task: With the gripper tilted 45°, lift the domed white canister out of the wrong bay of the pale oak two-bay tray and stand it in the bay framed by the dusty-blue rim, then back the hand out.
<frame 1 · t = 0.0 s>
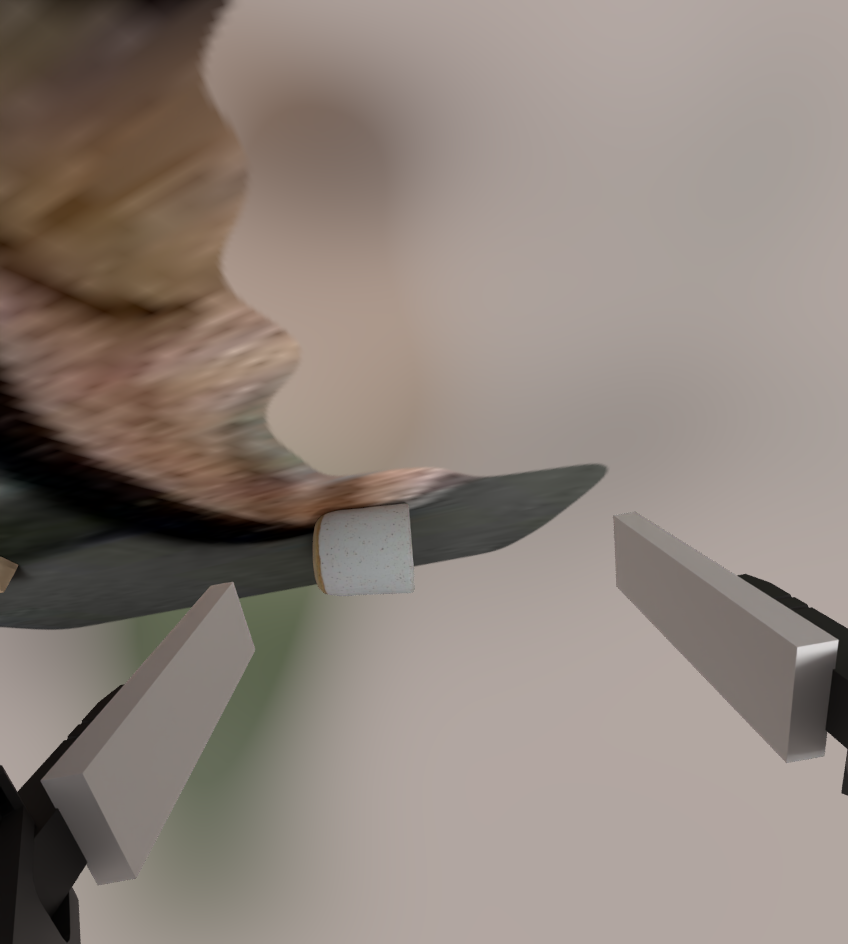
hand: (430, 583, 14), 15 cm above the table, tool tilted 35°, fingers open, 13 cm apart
ceramic mug: (369, 520, 39), on the table
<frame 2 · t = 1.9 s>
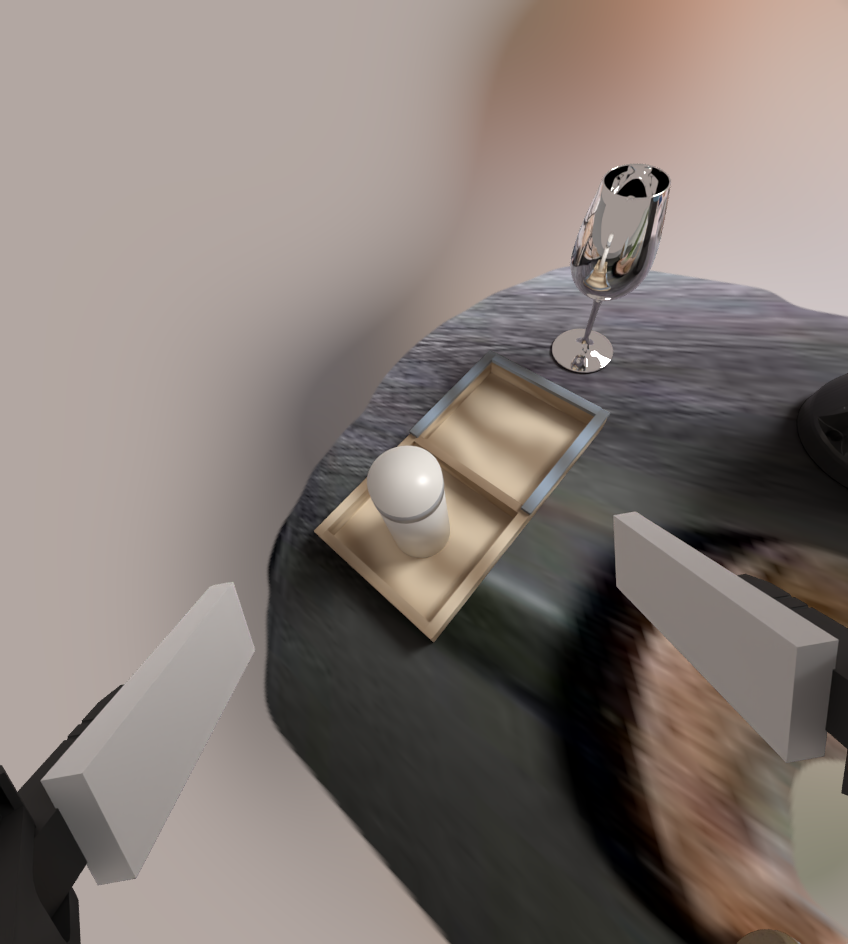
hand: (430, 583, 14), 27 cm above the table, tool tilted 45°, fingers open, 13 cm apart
bay tray: (466, 482, 45), on the table
wineglass: (581, 352, 52), on the table
domed white canister: (421, 530, 42), point 1 cm above the table, touching bay tray
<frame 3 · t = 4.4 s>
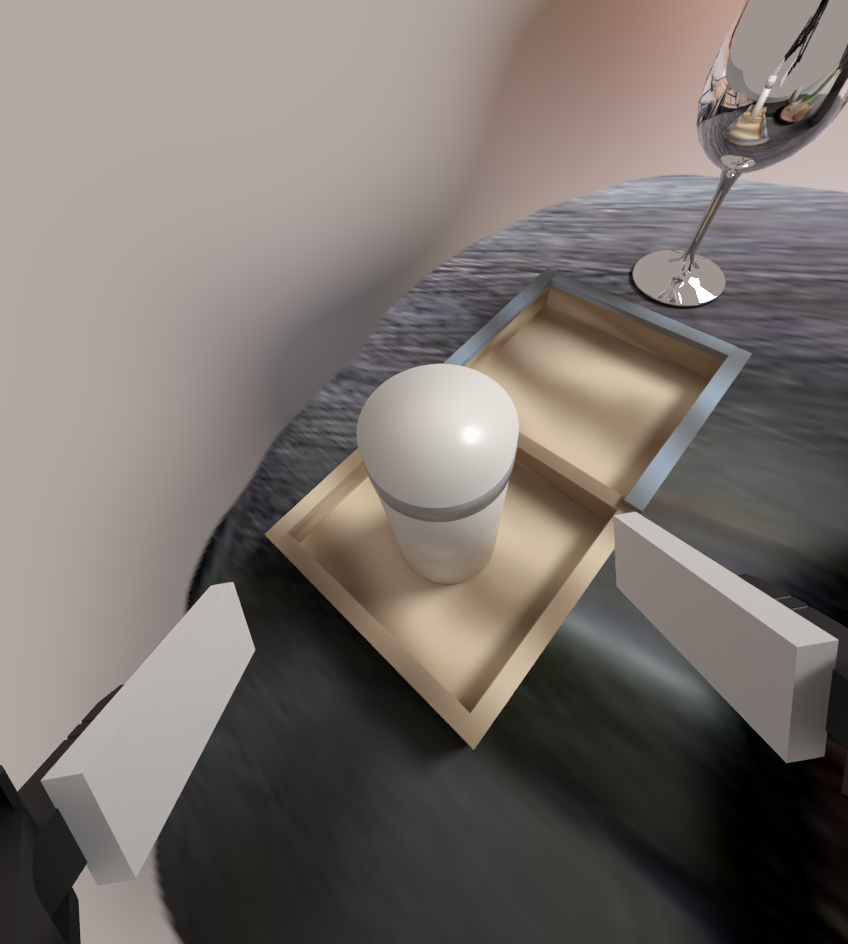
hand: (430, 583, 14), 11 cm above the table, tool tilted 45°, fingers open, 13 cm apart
bay tray: (516, 460, 28), on the table
wineglass: (675, 281, 36), on the table
domed white canister: (447, 536, 25), point 1 cm above the table, touching bay tray
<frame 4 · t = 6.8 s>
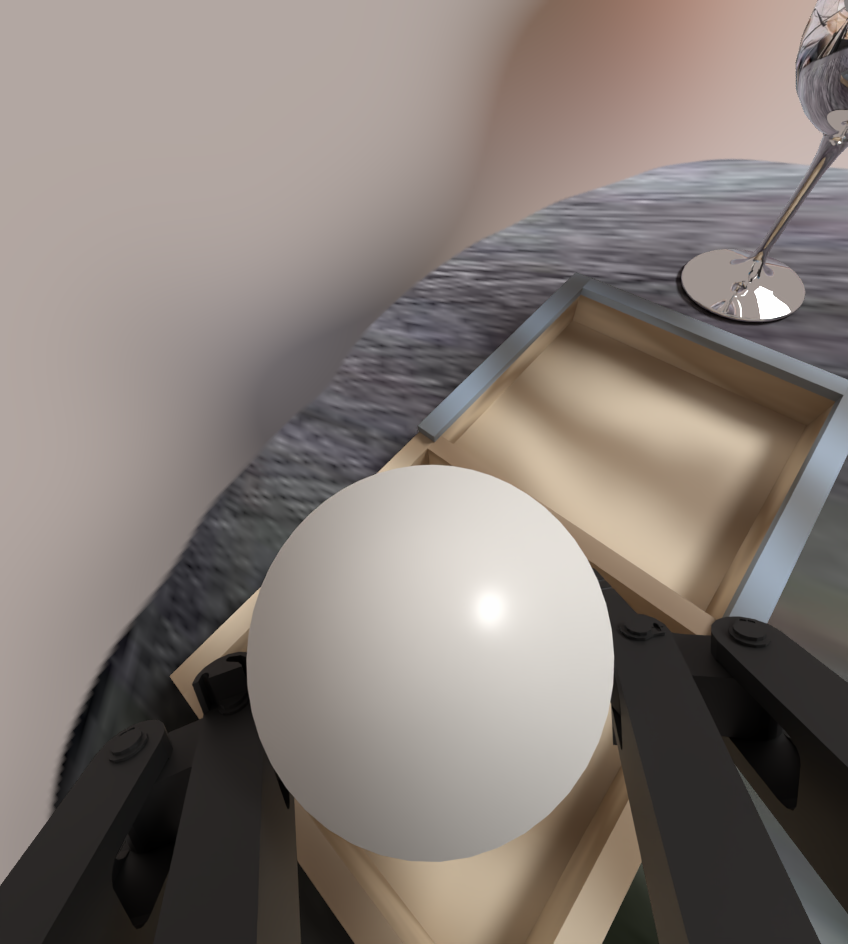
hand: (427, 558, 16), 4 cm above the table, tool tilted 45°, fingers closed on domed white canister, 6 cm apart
bay tray: (543, 542, 20), on the table
wineglass: (737, 288, 28), on the table
domed white canister: (447, 668, 17), point 1 cm above the table, touching bay tray, gripper
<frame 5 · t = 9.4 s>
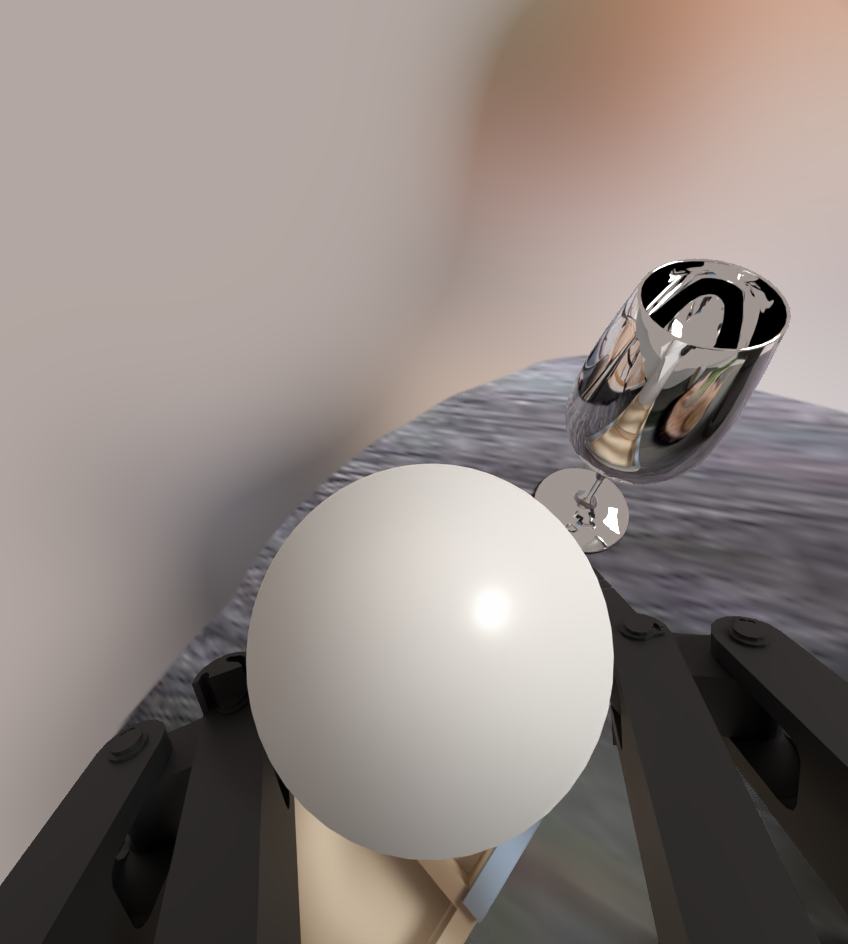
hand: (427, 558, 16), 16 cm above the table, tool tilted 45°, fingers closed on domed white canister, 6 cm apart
bay tray: (376, 777, 25), on the table
wineglass: (579, 510, 33), on the table
domed white canister: (447, 668, 17), point 12 cm above the table, touching gripper
when the fingers open (5 cm above the table, at t = 11.8 s): domed white canister stays where it is, resting on bay tray.
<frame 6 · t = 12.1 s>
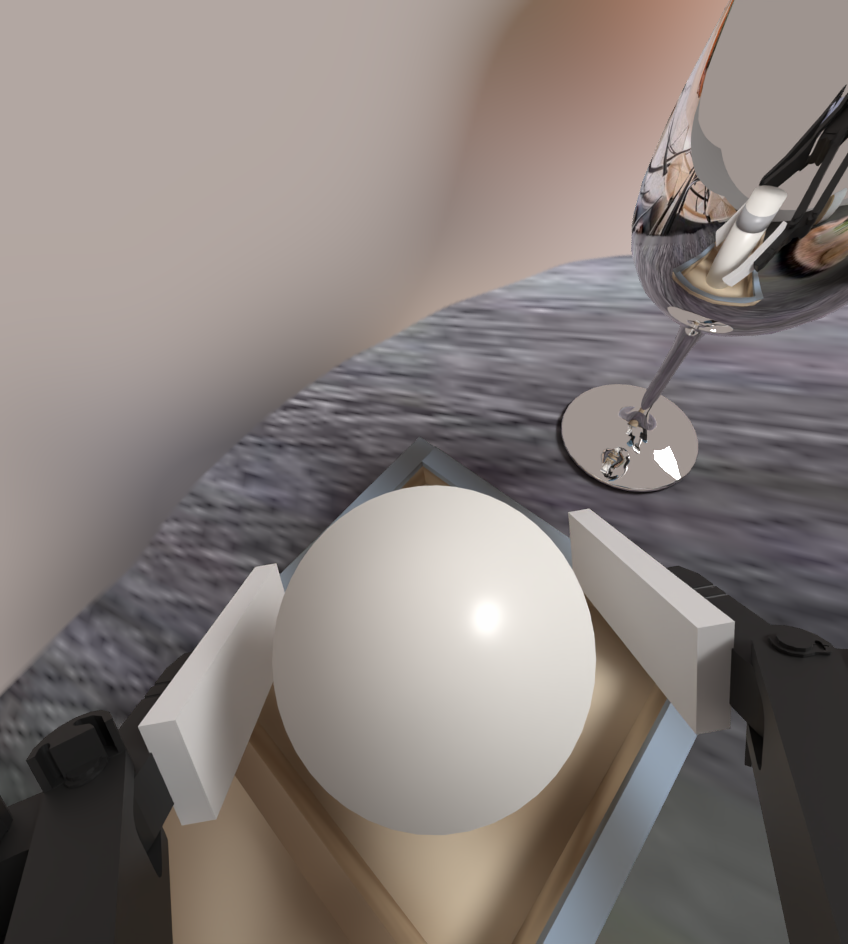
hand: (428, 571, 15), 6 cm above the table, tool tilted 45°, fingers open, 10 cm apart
bay tray: (327, 828, 16), on the table
wineglass: (625, 437, 24), on the table
domed white canister: (448, 670, 18), point 1 cm above the table, touching bay tray
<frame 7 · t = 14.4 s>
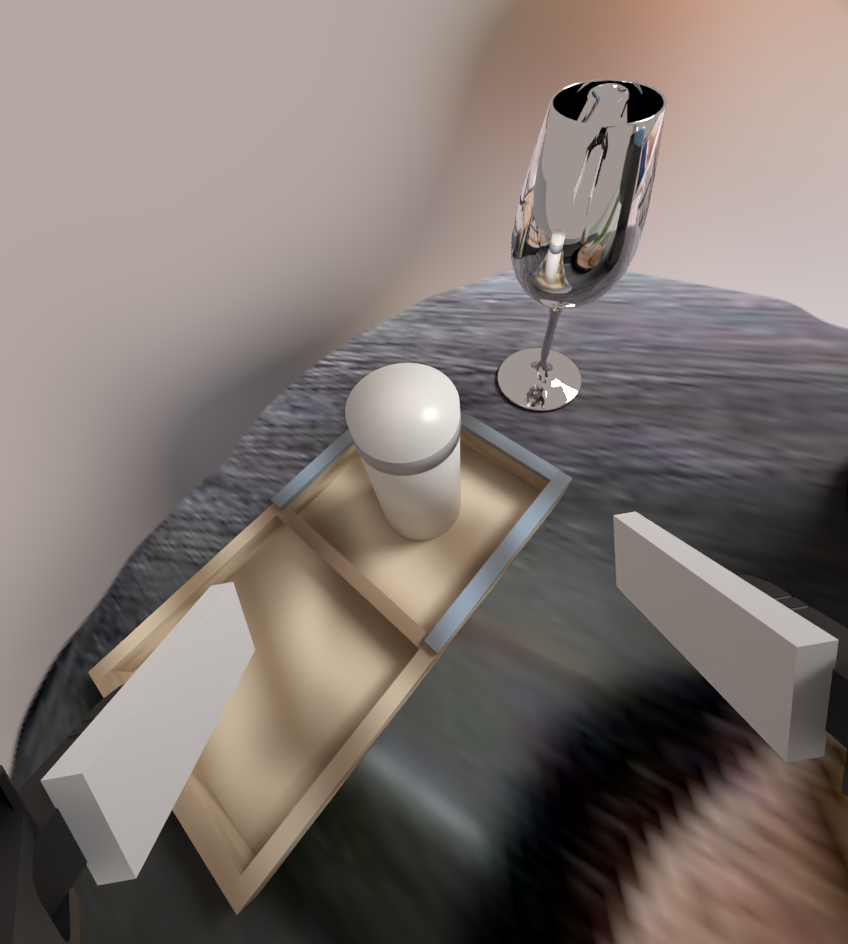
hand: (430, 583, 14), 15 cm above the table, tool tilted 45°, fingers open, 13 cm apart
bay tray: (354, 579, 29), on the table
wineglass: (538, 381, 37), on the table
domed white canister: (421, 503, 31), point 1 cm above the table, touching bay tray
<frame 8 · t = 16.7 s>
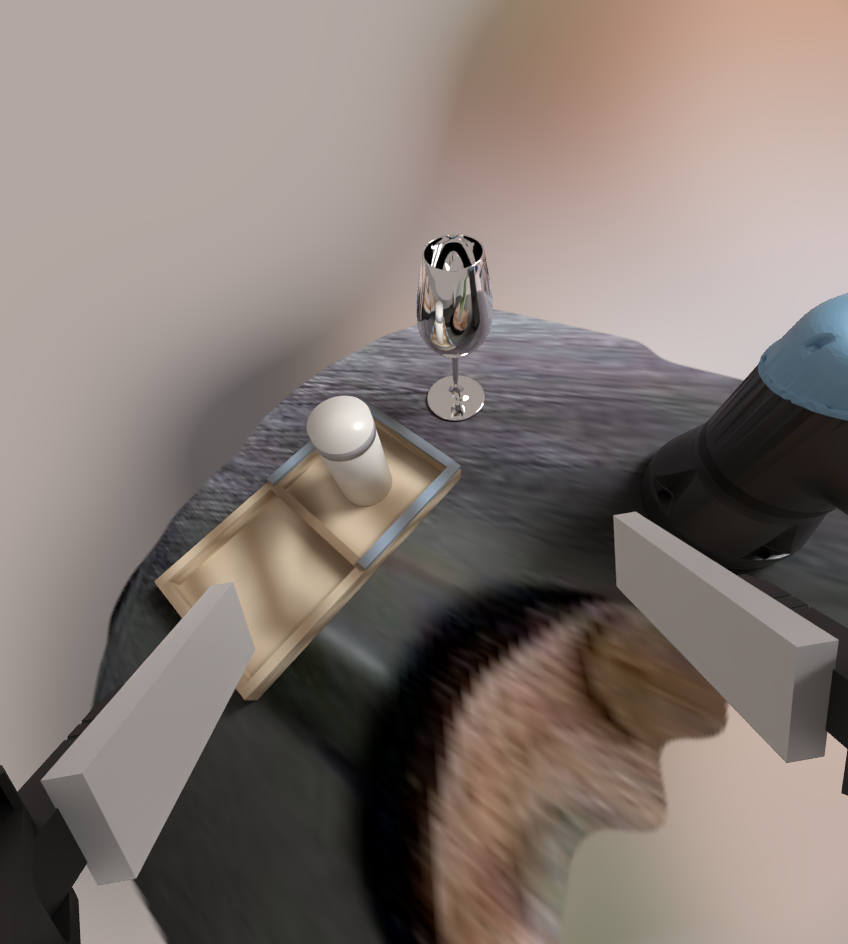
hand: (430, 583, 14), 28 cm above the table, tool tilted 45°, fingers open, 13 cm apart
bay tray: (320, 530, 45), on the table
wineglass: (455, 399, 53), on the table
domed white canister: (367, 482, 47), point 1 cm above the table, touching bay tray
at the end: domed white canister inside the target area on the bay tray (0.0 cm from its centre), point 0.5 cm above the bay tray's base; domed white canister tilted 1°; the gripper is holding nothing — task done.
